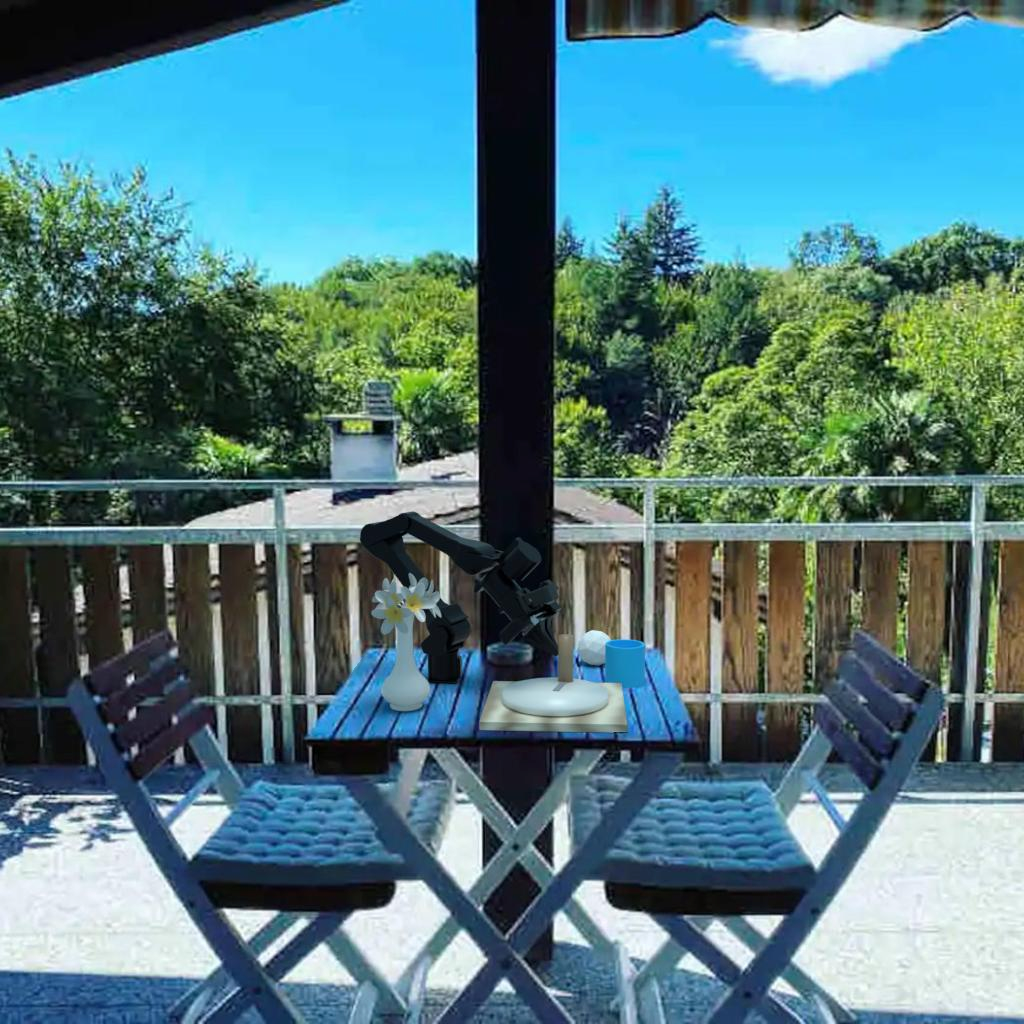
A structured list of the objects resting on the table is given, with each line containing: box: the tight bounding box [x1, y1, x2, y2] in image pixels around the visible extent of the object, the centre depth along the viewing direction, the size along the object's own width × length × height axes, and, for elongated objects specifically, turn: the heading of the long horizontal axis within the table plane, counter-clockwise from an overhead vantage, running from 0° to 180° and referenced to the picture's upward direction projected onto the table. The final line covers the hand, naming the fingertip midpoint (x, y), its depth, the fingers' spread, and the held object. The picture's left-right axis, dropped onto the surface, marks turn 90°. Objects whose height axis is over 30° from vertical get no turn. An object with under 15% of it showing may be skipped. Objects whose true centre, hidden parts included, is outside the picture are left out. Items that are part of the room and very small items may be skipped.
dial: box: [502, 633, 608, 716], centre depth 183 cm, size 20×20×10 cm
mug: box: [604, 638, 646, 689], centre depth 203 cm, size 12×8×8 cm
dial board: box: [478, 680, 628, 734], centre depth 184 cm, size 26×26×2 cm
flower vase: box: [370, 573, 441, 712], centre depth 183 cm, size 13×18×25 cm
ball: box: [577, 629, 612, 667], centre depth 215 cm, size 8×8×8 cm
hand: (558, 654), depth 191 cm, fingers closed, pressing on dial
